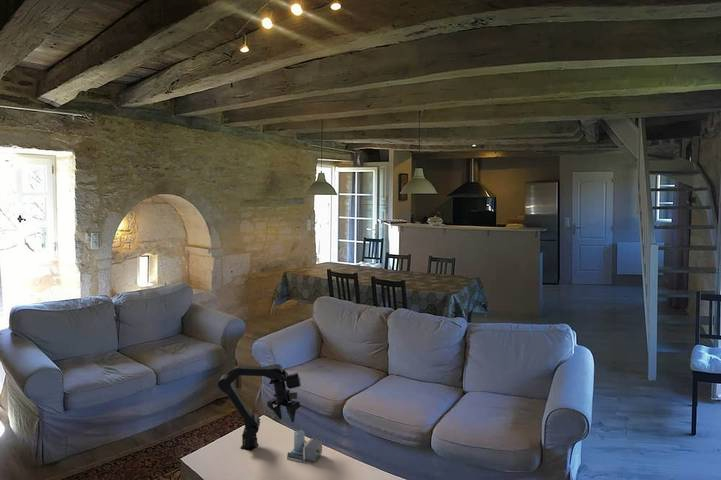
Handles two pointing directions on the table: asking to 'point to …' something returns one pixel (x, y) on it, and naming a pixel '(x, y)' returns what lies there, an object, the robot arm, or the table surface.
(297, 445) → the blue-grey knob on base
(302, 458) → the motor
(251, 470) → the table surface
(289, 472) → the table surface
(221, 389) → the robot arm
